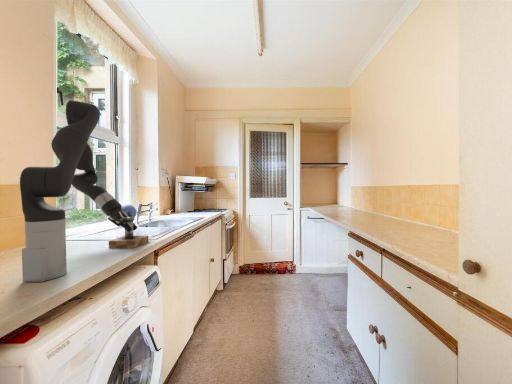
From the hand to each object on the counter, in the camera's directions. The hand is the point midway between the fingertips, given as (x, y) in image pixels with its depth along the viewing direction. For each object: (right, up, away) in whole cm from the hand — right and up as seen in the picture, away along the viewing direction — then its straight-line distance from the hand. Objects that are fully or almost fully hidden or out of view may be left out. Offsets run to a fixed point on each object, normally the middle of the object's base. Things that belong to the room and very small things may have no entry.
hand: (133, 229), depth 112 cm
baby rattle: (-10, -7, +14) cm, 18 cm away
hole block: (-2, -7, 0) cm, 7 cm away
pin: (-2, -5, 0) cm, 6 cm away
